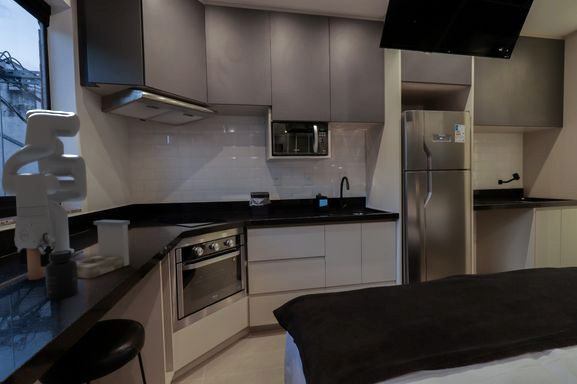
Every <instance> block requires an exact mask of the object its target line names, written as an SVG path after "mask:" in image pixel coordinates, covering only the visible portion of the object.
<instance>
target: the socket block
mask: <svg viewBox="0 0 577 384" xmlns="http://www.w3.org/2000/svg"><path fill="white" fill-rule="evenodd" d="M75 261H76V262H77V273H78V278H84V279H86V278H87V279H93V278H96V277H98V276H100V275H101V276H102V275H104V274H106V273H109V272H112V271H115V270H118V269H121V268H123V266H122V257H112V256H101V255H99V254H98V255H97V254H95V255H91V256H88V257H84V258H82V259H78V260H75Z"/></svg>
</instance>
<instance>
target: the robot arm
mask: <svg viewBox="0 0 577 384" xmlns="http://www.w3.org/2000/svg"><path fill="white" fill-rule="evenodd" d="M25 122H26V127H25V129H26V130H25V139H24V146H23V147H22V148H20V149H19V150H17V151H15V152H14V153H13V154H12V155H11V156H9V158H8V159H7V160H6V162H5V163H4V165H3V169H2V176H1V188H2V191H3V192H4V194H6V195H8V196H14V197H15V198H16V199H15V202H16V219H15V226H14V239H13V240H14V245H15V247H16V248H17V250H16V251H17V253H18V264H19V265H21V266H22V265H25V264H28V262H27V249H36V248H39V250H40V252H41V253H42V254H41V255H40V262H41V267H44V268H45V267H46V266H47V265H48V264H49V263H50V261H49V254H50V253H52V252H56V251H62V250H71V253H72V254H74V252H75V249H74V248H71V247H70V235H69V234H70V232H69V231H70V230H69V218H68V217H69V215H68V211H67V210H66V209H65V207H63V206H62V205H61V203H77V202H78V203H79V202H83V201H85V200H86V199H87V196H88V185H87V184H88V183H87V168H86V167H87V166H86V165H87V164H86V161H85V159H84V158H83V157H82V156H81V155H76V154H65V149H64V147H65V146H64V145H65V144H64V142H63V140H61V139H60V138H61V137H62V138H74V137H76V136H77V134H78V132H79V131H80V128H81V121H80V117H79V116H78V115H77V113H75V112H69V111H67V112H66V111H57V110H56V111H55V110H45V109H31V110H28V111H27V112H26V113H25ZM35 162H37V166H38V172H39V173H34V172H33V173H32V172H31V173H30V172H25V173H24V172H20V173H19V172H18V171H20V169H21V168H23V167H25V166H26V165H29V164H31V163H35ZM58 178H72V179H58Z"/></svg>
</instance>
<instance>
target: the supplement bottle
mask: <svg viewBox="0 0 577 384" xmlns="http://www.w3.org/2000/svg"><path fill="white" fill-rule="evenodd" d="M49 261H50V263H49V264H48V265H47V266H45V267H44V268H45V285H46V296H47V299H49V300H51V301H52V300H53V301H54V300H55V301H56V300H62V299H67V298H70V297H73V296H75V295H76V294H77V293H78V292H79V290H80V289H79V277H78V273H77V262H76V261H77V260H75V259H73V253H71V250H62V251H56V252H52V253H50V254H49Z"/></svg>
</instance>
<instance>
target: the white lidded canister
mask: <svg viewBox="0 0 577 384" xmlns="http://www.w3.org/2000/svg"><path fill="white" fill-rule="evenodd" d="M130 223H131V221H130V220H120V219H119V220H118V219H101V220H95V221H93V225H94V226H97V243H98V255H101V256H112V257H122V267H126V266H129V265H130V255H129V254H130V251H129V232H128V231H129V228H128V226H129V225H130Z"/></svg>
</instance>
